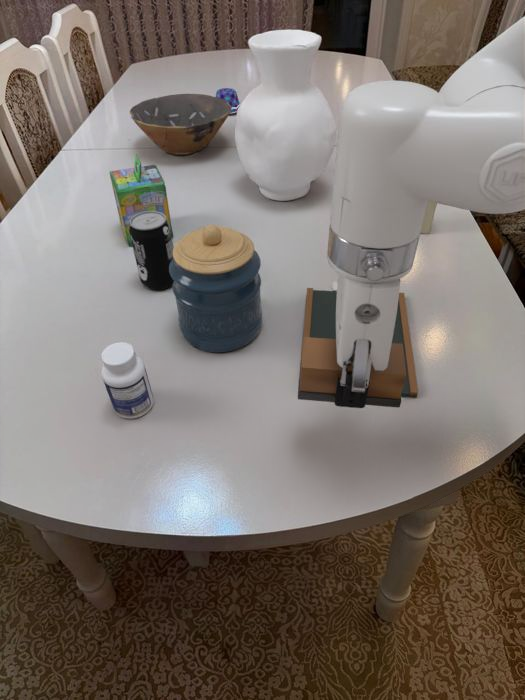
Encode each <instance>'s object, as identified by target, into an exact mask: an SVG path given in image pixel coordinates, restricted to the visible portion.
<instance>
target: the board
mask: <svg viewBox="0 0 525 700" xmlns="http://www.w3.org/2000/svg"><path fill="white" fill-rule="evenodd" d="M336 298H337V291H333V290H322V289H321V290H320V289H314V287H307V288H306V299H305V309H304V310H305V311H304V321H303V322H304V323H303V331H302V332H303V334H302V345H301V355H300V356H301V357H300V361H301V360H302V353H303V342H304V337H311V338H325V339H336ZM409 323H410V322H409V317H408V310H407V303H406V296H405V292H399V300H398V308H397V315H396V321H395V327H394V333H393V338H392V343H397V344H403V351H404V360H405V369H406V378H405V381H404V385H403V389H402V392H401V397H403V398H404V397H405V398H406V397H407V398H415V399H416V398H418V395H419V388H418V380H417V373H416V366H415V360H414V352H413V351H414V350H413V346H412V345H413V344H412V337H411V331H410V325H409Z"/></svg>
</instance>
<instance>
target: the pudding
mask: <svg viewBox="0 0 525 700" xmlns="http://www.w3.org/2000/svg"><path fill="white" fill-rule="evenodd" d="M215 97H217V98H220V99H223V100H225V101H226V102H228V103H229V104H230V106H231V108H232V107H237V106H238V105H239V104H240V105H241V103H242V102H243V101H240V100H239V97H238V92H237V91H236V90H235V89H234V88H231V87H225V88H220V89H218V90H216V93H215ZM238 108H239V107H238ZM238 108H237V109H232V110H231V112H230V114H237V111H238ZM230 114H229V115H230Z"/></svg>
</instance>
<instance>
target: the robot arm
mask: <svg viewBox="0 0 525 700" xmlns="http://www.w3.org/2000/svg"><path fill="white" fill-rule="evenodd" d="M332 184H333V185H332V196H331V207H330V217H329V229H328V239H327V240H328V241H327V251H326V259H327V263H328V265H329V267H330V268H331V269H332V270H333V271H334V272H336V273H337V274H338V275H337V276H338V277H337V282H338V285H337V298H336V349H337V363H338V365H339V366H340V367H342V369H341V377H338V380H337V388H336V395H335V402H334V405H335V406H336V407H340V408H351V409H352V408H353V409H354V408H355V409H364V408H365V407H366V405H365V404H366V399H367V394H368V389H369V384H370V381H369V378H370V370H371V364H373V367H374V369H375V370H378V371H384V370H385V369H386V368H387V367H388V362H389V356H390V350H391V344H392V338H393V333H394V327H395V321H396V315H397V308H398V300H399V293H400V289H401V288H400V287H401V279H402V278H404V277H406V276H407V275H409V273H410V272H411V270H412V269H413V267H414V263H415V262H414V261H415V258H416V255H417V254H416V253H417V249H418V247H419V246H418V245H419V241H420V237H421V233H420V232H421V228H422V224H423V220H424V215H425V211H426V207H427V203H428V201H429V202H434V203H437V204H439V205H444V206H448V207H453V208H456V209H460V210H464V211H470V212H474V213H481V214H490V215H506V214H512V213H513V214H514V213H518V212H521V211H524V210H525V15H524V16H522V17H521V18H520V19H518V20H517V21H516V22H515V23H513V24H512V25H511V26H509V27H508V28H507V29H505V30H504V31H503V32H502V33H500V34H499V35H498V36H497V37H495V38H494V39H493V40H491V41H490V42H489V43H487V44H486V45H485V46H483V47H482V48H481V49H480V50H479V51H477V52H476V53H475V54H473V55H472V56H471V57H470V58H468V59H467V60H466V61H465V62H464V63H463V64H462V65H461V66H459V68H457V69H456V70H455V71H454V72H453V73H452V74H451V75H450V77H448V79H447V80H446V81H445V82H444V84H443V85H442V86H441V87H440V90H439V91H437V90H435V89H433V88H432V87H429V86H427V85H424V84H420V83H417V82H413V81H406V80H396V79H395V80H391V79H390V80H377V81H376V80H375V81H370V82H367V83H364V84H361V85H358V86H356V87H355V88H354V89H352V90H351V91H350V92H349V93H348V94H347V95H346V96H345V98H344V100H343V102H342V103H341V106H340V111H339V119H338V126H337V137H336V151H335V164H334V174H333V183H332ZM353 353H354V355H352V354H353ZM348 366H353V370H352V375H350V374H347V370H348Z"/></svg>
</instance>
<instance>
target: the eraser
mask: <svg viewBox="0 0 525 700" xmlns="http://www.w3.org/2000/svg"><path fill="white" fill-rule="evenodd" d="M302 343H303V353H302V352H301V355H302V360H301V359H300V367H299V378H298V387H297V388H298V389H297V400H300V401H301V400H302V401H313V402H326V403H335V395H336V388H337V380H338V377H341V369H342V367H340V366H339V365H338V363H337V349H336V339H325V338H311V337H304V342H303V341H302ZM352 355H354V353H353V354H352ZM352 370H353V366H348V370H347V374H350V375H352ZM405 378H406V369H405V360H404V351H403V344H397V343H392V344H391V350H390V356H389V362H388V367H387V368H386V369H385V370H384V371H378V370H375V369H374V367H373V364H371V370H370V378H369V381H370V384H369V389H368V394H367V399H366V404H365V406H373V407H386V408H401V404H402V402H403V401H402V396H401V392H402V389H403V385H404V381H405Z"/></svg>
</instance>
